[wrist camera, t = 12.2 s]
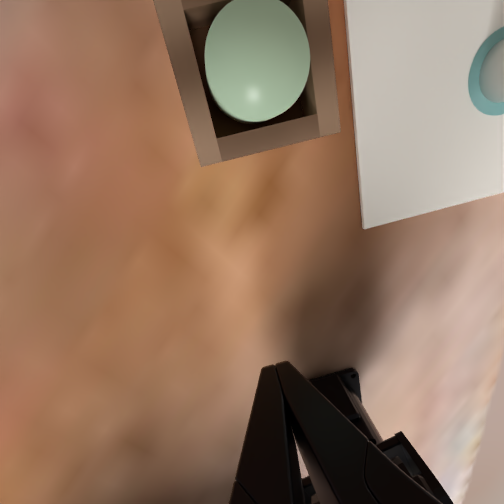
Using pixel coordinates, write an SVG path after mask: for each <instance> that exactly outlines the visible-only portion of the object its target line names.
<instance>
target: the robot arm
mask: <svg viewBox="0 0 504 504" xmlns="http://www.w3.org/2000/svg"><path fill="white" fill-rule="evenodd" d="M275 367H276V368H275ZM292 430H293V431H292ZM293 434H294V435H293ZM294 437H295V439H294ZM295 440H296V443H297V446H298V448H299V451H300V454H301V456H302V459H303V461H304V464H305V466H306V469H307V471H308V474H309V476H307V477H305V478H303V479H302V478H301V473H300V467H299V461H298V455H297V449H296V443H295ZM235 480H236V481H235V482H234V484H233V489H232V493H231V497H230V501H229V504H453V502H452V501H451V499H450V498H449V496H448V494H447V493H446V491H445V490H444V489H443V487H442V486H441V484H440V483H439V481H438V480H437V479H436V477H435V476H434V474H433V473H432V472H431V470H430V469H429V468H428V466H427V465H426V464H425V462H424V461H423V460H422V458H421V457H420V456H419V454H418V453H417V452H416V450H415V449H414V447H413V446H412V445H411V443H410V442H409V441H408V439H407V438H406V437H405V435H404V434H403V433H402V431H400V432H398V433H396V434H395V436H393V437H391V438H389V439H387V440H385V441H383V439H382V438H381V436H380V434H379V432H378V431H377V429H376V427H375V426H374V424H373V422H372V420H371V419H370V417H369V415H368V414H367V412H366V410H365V408H364V407H363V405H362V401H361V392H360V383H359V374H358V372H357V371H356V369H354V368H351V369H347V370H344V371H340V372H337V373H333V374H330V375H326V376H323V377H319V378H316V379H312V380H309V381H308V380H307V379H306V378H305V377H304V376H303V375H302V374H301V373H300V372H299V371H298V370H297V369H296V368H295V367H294V366H293V365H292V364H291V363H290V362H288V361H283V362H280V363H276V365H269V366H265V367H263V368H262V369H261V373H260V377H259V381H258V385H257V389H256V393H255V398H254V402H253V406H252V410H251V414H250V418H249V423H248V427H247V431H246V435H245V439H244V443H243V448H242V452H241V456H240V460H239V464H238V468H237V473H236V477H235Z"/></svg>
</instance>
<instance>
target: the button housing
mask: <svg viewBox="0 0 504 504" xmlns="http://www.w3.org/2000/svg"><path fill="white" fill-rule="evenodd" d="M153 1H154V5H155V8H156V12H157V15H158V19H159V22H160V26H161V29H162V33H163V36H164V40H165V43H166V47H167V50H168V54H169V57H170V61H171V64H172V68H173V71H174V75H175V78H176V82H177V85H178V89H179V92H180V96H181V99H182V103H183V106H184V110H185V113H186V117H187V120H188V124H189V127H190V131H191V134H192V138H193V141H194V144H195V148H196V151H197V155H198V158H199V162H200V165H201V167H203V166H207V165H211V164H215V163H219V162H223V161H227V160H231V159H235V158H239V157H243V156H247V155H251V154H255V153H259V152H263V151H267V150H271V149H275V148H279V147H283V146H287V145H291V144H295V143H299V142H303V141H307V140H311V139H315V138H319V137H323V136H327V135H331V134H335V133H339V132H341V128H340V118H339V108H338V98H337V88H336V78H335V68H334V58H333V48H332V38H331V28H330V18H329V8H328V0H279V1H281V2H283V3H284V4H285V5H287V6H288V7H289V8H290V9H291V10H292V11H293V12H294V13H295V15H296V16H297V17H298V19H299V20H300V22H301V24H302V26H303V28H304V30H305V32H306V36H307V39H308V43H309V48H310V68H309V74H308V78H307V81H306V84H305V87H304V89H303V91H302V93H301V94H300V98H301V105H302V112H303V117H302V118H298V119H294V120H290V121H286V122H282V123H278V124H274V125H270V126H266V127H262V128H258V129H254V130H249V131H245V132H241V133H237V134H233V135H229V136H225V137H221V138H217V139H216V135H215V131H214V127H213V123H212V120H211V116H210V112H209V108H208V104H207V100H206V96H205V92H204V88H203V84H202V81H201V77H200V73H199V69H198V65H197V61H196V57H195V53H194V49H193V45H192V42H191V38H190V34H189V30H193V29H197V28H202V27H206V26H210V25H211V24H212V22H213V21H214V19H215V17H216V16H217V15H218V13H219V12H220V11H221V10H222V9H223V8H224V7H225V6H226V5H227V4H228V3H230V2H231V1H233V0H153Z"/></svg>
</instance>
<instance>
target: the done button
mask: <svg viewBox="0 0 504 504" xmlns="http://www.w3.org/2000/svg"><path fill="white" fill-rule="evenodd" d="M309 68H310V48H309V43H308V39H307V36H306V32H305V30H304V28H303V26H302V24H301V22H300V20H299V19H298V17H297V16H296V15H295V13H294V12H293V11H292V10H291V9H290V8H289V7H288V6H287V5H285V4H284V3H283V2H281V1H279V0H233V1H231V2H230V3H228V4H227V5H226V6H225V7H224V8H223V9H222V10H221V11H220V12H219V13H218V15H217V16H216V17H215V19H214V21H213V22H212V24H211V27H210V29H209V31H208V35H207V39H206V44H205V69H206V80H207V85H208V89H209V92H210V94H211V97H212V99H213V101H214V102H215V104H216V105H217V107H218V108H219V109H220V110H221V111H222V112H223V113H224V114H225V115H226V116H228V117H229V118H231V119H233V120H235V121H237V122H240V123H244V124H258V123H262V122H265V121H267V120H269V119H271V118H273V117H276V116H278V115H280V114H282V113H283V112H285V111H286V110H287V109H289V108H290V107H291V106H292V105H293V104H294V103H295V101H296V100H297V99H298V97H299V96H300V94H301V93H302V91H303V89H304V87H305V84H306V81H307V78H308V74H309Z"/></svg>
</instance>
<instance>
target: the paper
mask: <svg viewBox="0 0 504 504" xmlns="http://www.w3.org/2000/svg"><path fill="white" fill-rule="evenodd" d="M344 11H345V23H346V35H347V48H348V60H349V72H350V84H351V96H352V108H353V120H354V132H355V144H356V156H357V169H358V181H359V193H360V205H361V217H362V228H363V229H368V228H372V227H375V226H379V225H383V224H387V223H390V222H394V221H398V220H402V219H405V218H409V217H413V216H417V215H420V214H424V213H428V212H432V211H436V210H439V209H443V208H447V207H451V206H454V205H458V204H462V203H466V202H469V201H473V200H477V199H481V198H485V197H488V196H492V195H496V194H500V193H503V192H504V102H501V103H495V102H491V101H489V100H487V99H486V98H485V97H484V95H483V94H482V92H481V89H480V85H479V75H480V69H481V66H482V63H483V61H484V59H485V57H486V55H487V54H488V52H489V51H490V50H491V48H492V47H493V46H494V45H495V44H497V43H498V42H499V41H501V40H502V39H504V0H344Z"/></svg>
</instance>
